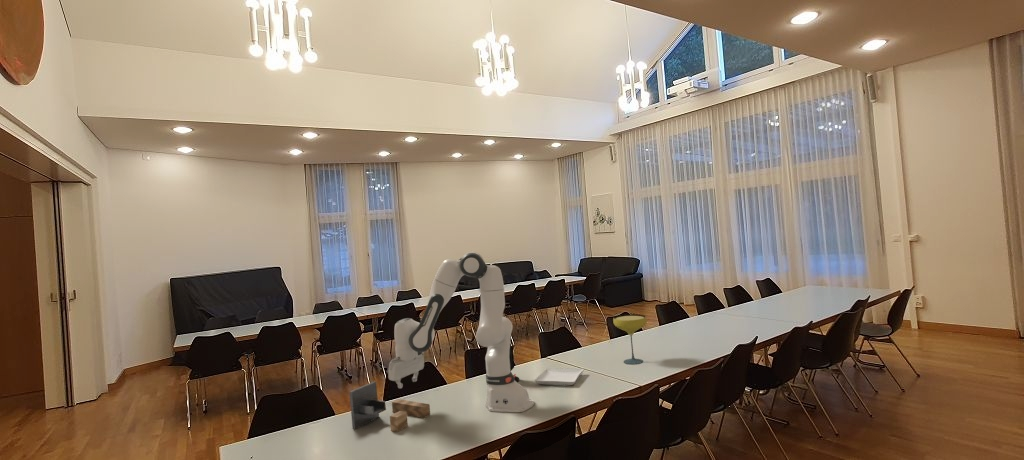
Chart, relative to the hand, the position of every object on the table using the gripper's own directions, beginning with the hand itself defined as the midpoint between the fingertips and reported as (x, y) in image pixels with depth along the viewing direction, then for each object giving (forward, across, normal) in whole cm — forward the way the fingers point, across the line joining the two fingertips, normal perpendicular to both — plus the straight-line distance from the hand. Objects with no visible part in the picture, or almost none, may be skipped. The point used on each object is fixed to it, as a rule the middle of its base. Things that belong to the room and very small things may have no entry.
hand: (407, 384), depth 219 cm
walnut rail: (+13, 0, -1) cm, 13 cm away
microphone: (+13, +52, -21) cm, 58 cm away
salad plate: (+12, +61, -48) cm, 79 cm away
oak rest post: (+13, -15, -8) cm, 21 cm away
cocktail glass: (+11, +101, -75) cm, 126 cm away
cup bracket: (+13, -15, +8) cm, 22 cm away
